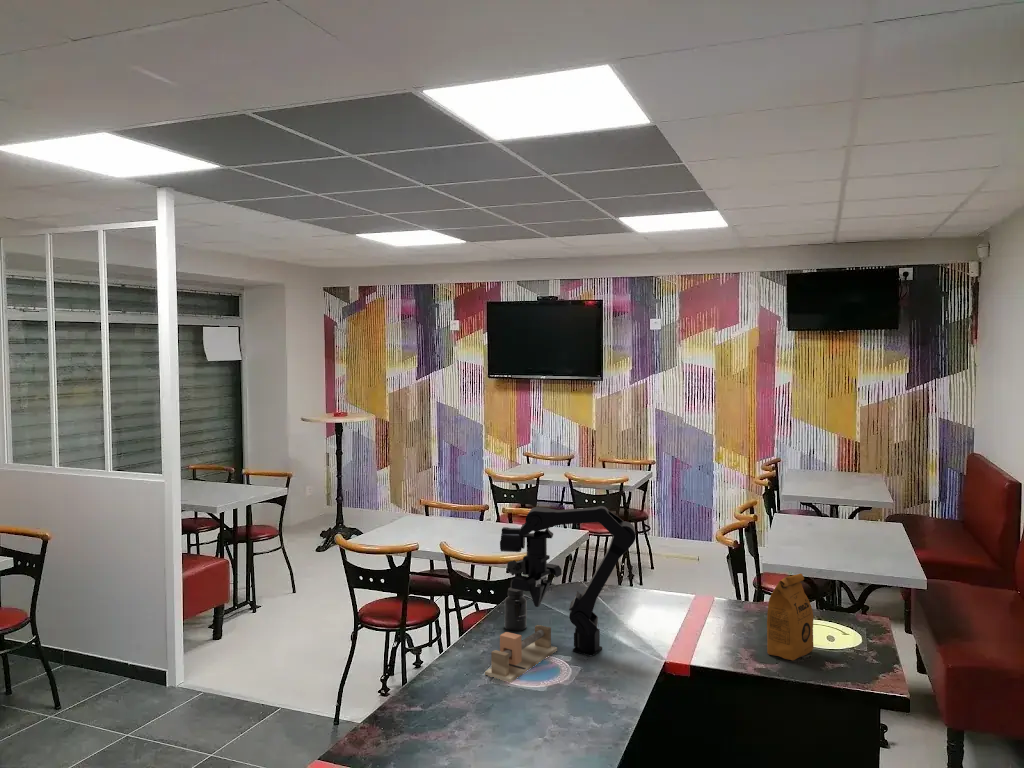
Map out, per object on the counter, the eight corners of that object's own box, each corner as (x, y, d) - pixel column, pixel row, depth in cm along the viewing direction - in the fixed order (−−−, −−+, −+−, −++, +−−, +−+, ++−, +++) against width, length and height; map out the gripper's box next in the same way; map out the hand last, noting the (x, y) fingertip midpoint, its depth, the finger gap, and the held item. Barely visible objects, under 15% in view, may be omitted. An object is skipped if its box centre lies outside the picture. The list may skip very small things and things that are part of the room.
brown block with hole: (506, 657, 198) (506, 631, 198) (521, 661, 195) (521, 635, 195) (500, 661, 195) (499, 635, 195) (515, 665, 193) (515, 639, 192)
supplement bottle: (524, 632, 222) (524, 593, 222) (502, 630, 224) (502, 591, 223) (528, 624, 229) (528, 586, 229) (507, 622, 230) (506, 585, 230)
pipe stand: (533, 645, 212) (533, 622, 212) (557, 651, 208) (557, 628, 208) (485, 675, 192) (484, 651, 192) (510, 682, 188) (510, 657, 188)
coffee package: (819, 654, 204) (820, 576, 203) (793, 665, 197) (793, 584, 196) (788, 643, 212) (788, 568, 211) (761, 653, 205) (761, 575, 204)
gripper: (530, 541, 222) (530, 592, 222) (494, 555, 206) (495, 610, 207) (562, 546, 215) (562, 599, 216) (528, 561, 200) (528, 618, 200)
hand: (537, 606), depth 210 cm, fingers closed
